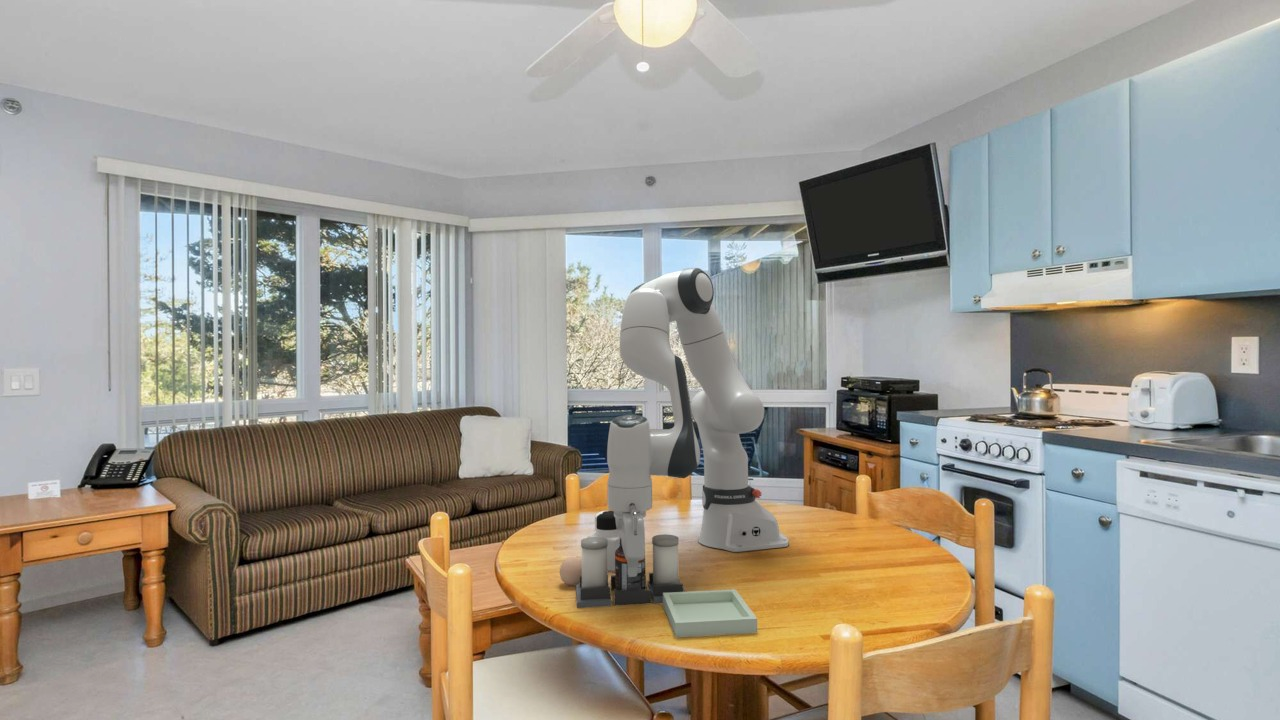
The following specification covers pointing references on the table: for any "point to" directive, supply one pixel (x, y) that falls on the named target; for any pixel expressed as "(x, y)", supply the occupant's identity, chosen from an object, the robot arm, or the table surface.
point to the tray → (708, 613)
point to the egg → (571, 570)
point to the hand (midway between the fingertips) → (630, 569)
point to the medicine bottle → (607, 535)
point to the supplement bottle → (622, 576)
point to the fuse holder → (596, 579)
